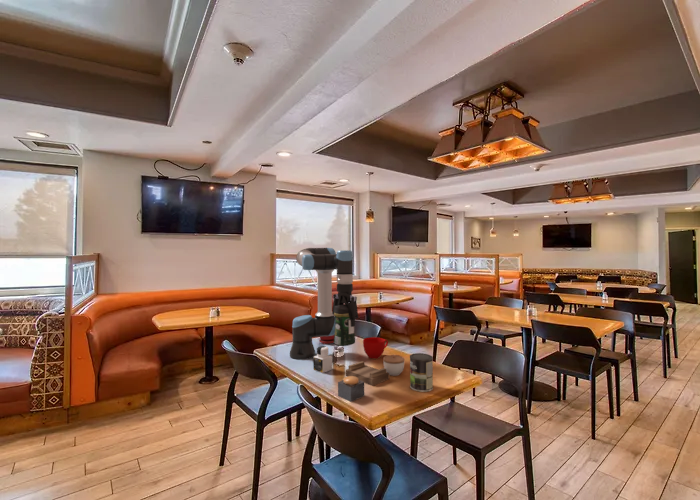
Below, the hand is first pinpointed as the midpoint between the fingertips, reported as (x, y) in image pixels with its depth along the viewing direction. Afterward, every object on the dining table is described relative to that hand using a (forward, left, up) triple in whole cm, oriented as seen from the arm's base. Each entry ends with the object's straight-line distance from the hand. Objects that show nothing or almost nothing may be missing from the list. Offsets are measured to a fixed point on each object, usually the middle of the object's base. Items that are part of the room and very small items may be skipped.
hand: (345, 331), depth 158 cm
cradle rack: (+1, +13, -25) cm, 28 cm away
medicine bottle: (-23, +5, -25) cm, 34 cm away
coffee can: (+27, +22, -25) cm, 43 cm away
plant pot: (-63, +42, -25) cm, 79 cm away
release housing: (+11, -7, -25) cm, 28 cm away
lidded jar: (+7, +27, -25) cm, 37 cm away
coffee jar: (0, 0, -6) cm, 6 cm away
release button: (+11, -7, -24) cm, 28 cm away
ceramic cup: (-18, +42, -25) cm, 52 cm away
